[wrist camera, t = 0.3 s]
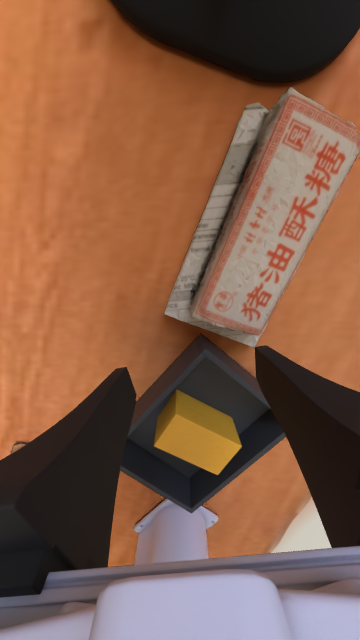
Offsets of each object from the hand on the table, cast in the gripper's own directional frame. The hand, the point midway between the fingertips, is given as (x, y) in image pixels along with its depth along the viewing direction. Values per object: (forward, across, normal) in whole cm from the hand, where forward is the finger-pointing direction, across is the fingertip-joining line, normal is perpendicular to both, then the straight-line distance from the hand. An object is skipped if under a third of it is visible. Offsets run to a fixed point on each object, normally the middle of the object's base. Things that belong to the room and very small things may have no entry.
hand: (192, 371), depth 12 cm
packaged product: (+12, -7, -5) cm, 14 cm away
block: (+8, +1, +13) cm, 15 cm away
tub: (+9, +1, +13) cm, 16 cm away
